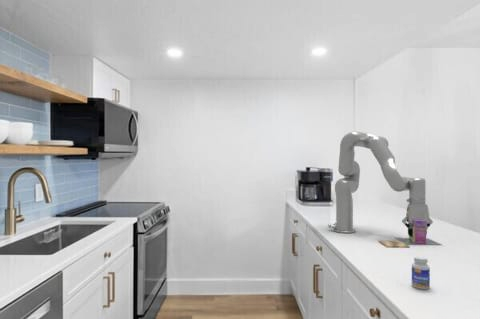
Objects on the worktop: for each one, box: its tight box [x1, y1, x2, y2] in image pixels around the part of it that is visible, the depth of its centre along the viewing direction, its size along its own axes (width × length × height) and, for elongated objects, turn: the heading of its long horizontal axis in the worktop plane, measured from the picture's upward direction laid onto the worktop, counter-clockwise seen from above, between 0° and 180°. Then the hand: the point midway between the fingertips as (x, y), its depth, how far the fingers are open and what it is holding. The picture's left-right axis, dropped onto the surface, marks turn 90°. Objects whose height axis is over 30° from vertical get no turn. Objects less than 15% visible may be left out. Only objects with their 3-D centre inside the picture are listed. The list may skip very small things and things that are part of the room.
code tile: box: [393, 237, 443, 246], centre depth 178 cm, size 18×14×1 cm
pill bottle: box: [411, 255, 431, 290], centre depth 115 cm, size 5×5×10 cm
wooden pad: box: [378, 240, 411, 249], centre depth 172 cm, size 11×11×1 cm
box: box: [408, 220, 427, 244], centre depth 178 cm, size 10×6×12 cm, turn 168°
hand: (417, 235), depth 178 cm, fingers closed on box, 6 cm apart
